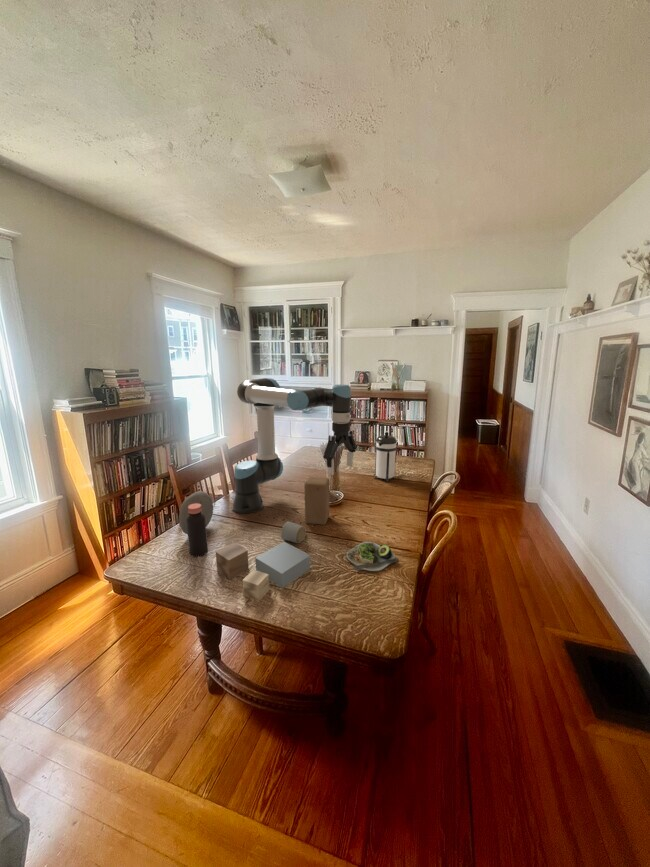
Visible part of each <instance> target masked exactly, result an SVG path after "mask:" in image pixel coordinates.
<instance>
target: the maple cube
mask: <svg viewBox="0 0 650 867" xmlns="http://www.w3.org/2000/svg"><path fill="white" fill-rule="evenodd" d="M269 590H270V580H269V574H266V573H263V572H260V571H257V570H256V569H253V570H251V571H250V572H249V573H248V574H247V575H246V576H245V577H244V578H243V579H242V591H243V597H246V598H249V599H252V600H254V601H257V602H260V600H261V599H262V598H263V597H264V596H265V595H267V593H268V592H269Z"/></svg>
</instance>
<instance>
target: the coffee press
mask: <svg viewBox="0 0 650 867" xmlns="http://www.w3.org/2000/svg"><path fill="white" fill-rule="evenodd" d="M375 442H376V443H375V459H374V460H375V461H374V462H375V463H374V473H373V476H372V478H373V479H376V478H379V479H384V480H385V482H386V483H389V482H390V481H389V479H392V478H394V479H397V476H396V462H397V452H398V451H397V450H398V449H397V443H398V440H397V439H396V437H395V436H393V435H389V432H388V431H386V432H385V433H384V434H382V435H379V436H377V438H376V439H375Z"/></svg>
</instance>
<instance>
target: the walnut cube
mask: <svg viewBox="0 0 650 867" xmlns="http://www.w3.org/2000/svg"><path fill="white" fill-rule="evenodd" d="M248 553H249V551H248V550H247V548H244V547H243V546H241V545H240V544H238V543H236V542H233V543H230V544H228V545H227V546H225V547H223V548H221V549H218V550H215V559H216V560H215V561H216V571H217V572H218V573H219V574H220V575H222V576H223V577H225V579H226V578H227V579H228V580H229V581H232V580H233V579H235V578H237V577H238V576H240V575H242V574H244V573H245V572H247V571H248V570H249V568H250V567H249V554H248Z"/></svg>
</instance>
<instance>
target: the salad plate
mask: <svg viewBox="0 0 650 867" xmlns="http://www.w3.org/2000/svg"><path fill="white" fill-rule="evenodd" d="M358 553H359V557H358V558H359V560H357V559H356V558H355V557H356V555H357V554H358ZM346 559H347V560H348V561H349V562H350V563H351V564H352V565H353V569H354V570H356V571H359V570H361V571H362V570H364V571H367V572H368V571H369V572H380V571H382V570H384V569H385V568H387V567H388V566H390V565H391V564H394V563H397V562H398V561H399V560H400V558H396V554H395V553H394V552H392V550H391V547H390V546H389V545H388V544H382V545H379V544H378V543H375V542H373V541H363V542H361V543H358V544H357V545H356V546H354V547H353V548H351V549H349V550H347V552H346Z"/></svg>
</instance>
